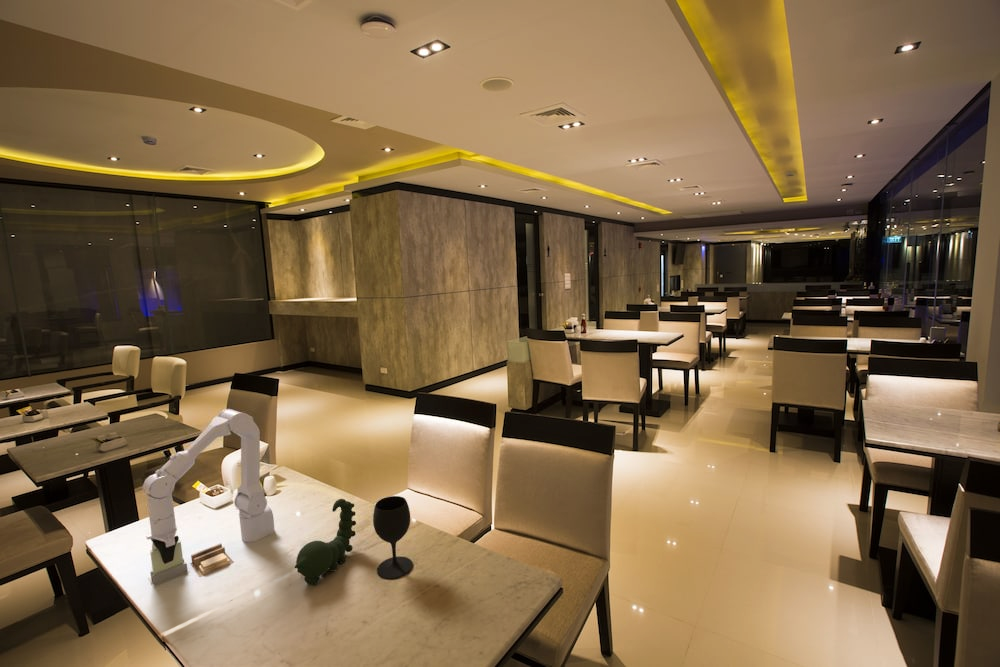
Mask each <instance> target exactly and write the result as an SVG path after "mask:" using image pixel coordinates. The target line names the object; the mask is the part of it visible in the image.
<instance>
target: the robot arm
mask: <svg viewBox="0 0 1000 667" xmlns="http://www.w3.org/2000/svg"><path fill="white" fill-rule="evenodd" d="M231 432H233V433H234V434H235V435H237V436H239V437H240V485H239V486H238V487H237V494H236V495H235V498H234V500H233V501H234V506H235V507H236V508H237V509H238V510H239V513H238V515H239V516H238V517H239V525H240V533H241V534H240V535H241V541H242V542H243V543H253V542H256V541H259V540H261V539H263V538H265V537H267V536H269V535H272V534H274V533H275V532H276V531H275V520H274V513H273V510H272V508H271V507H270V506H267V505H268V501H267V500H268V499H267V498H266V497H265V496H266V495H265V490H264V488H263V487H262V485H261V482H260V480H261V478H260V476H261V474H260V473H261V472H260V462H261V461H260V460H261V459H260V458H261V457H260V454H261V453H260V449H261V448H260V447H261V444H260V442H261V441H260V440H261V438H260V436H261V434H260V432H261V431H260V428H259V427H258V425H257V424H256V422H255V421H254V417H253V416H251V415H249V414H248V413H245V412H240V411H237V410H234V409H232V408H226V409H223V410H221V411H220V412H219V413H218V415H216V416H215V417H213V419H212V420H211V421H210V423H209V425H207V427H205V429H204V430H203V431H202V432H201V433H200V434H199V436H198V437H196V438H195V440H194V441H192V443H190V445H189V446H188V447H187V448H186V449H185V450H181V451H177V452H176V453H175V454H174V453H172V455H170V456H169V460H168V461H167V462H165V464H163V466H161V467H160V468H159V469H157V470H155V473H154V474H151V475H150V474H149V476H148V477H146V478H145V480H144V482H143V484H142V486H141V488H142V491H143V492H144V493H146V499H147V510H148V518H149V524H150V525H149V526H150V533H148V534H146V536H145V537H146V539H147V540H150V541H151V542H152V543H154V545H155V547H156V548H157V549H158V550H159V552H160V554H161V557H162V560H163V562H164V564H166V563H169V562H171V561H173V559H174V552H175V547H176V544H177V542H178V540H180V539H179V538H180V537H179V535H176V534H177V531H178V527H177V525H176V518H175V517H176V516H175V509H174V507H175V506H174V499H173V495H172V493H173V492H174V491H175V486H176V483H177V482H178V481H179V480H180V479H181V478H182V477H183V476H184V475H185V474H186V473H187V472H188V471H189V470H190V469H191V468H192V467H193V466H194V465H195V463H196V462H195V460H196V458H197V456H198V455H200V454H201V453H202V452H204V450H205V449H207V447H209V446H210V445H211V444H212V443H213V442H214V441H215V440H216V439H218V438H221V437H225V436H230V435H232V433H231Z"/></svg>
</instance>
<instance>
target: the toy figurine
mask: <svg viewBox="0 0 1000 667" xmlns="http://www.w3.org/2000/svg"><path fill="white" fill-rule="evenodd" d="M354 507H355V504H354V502H353V503H352V502H351V501H347V500H346V499H344V498H339V499H337V500H335V502H334V503H333V506H332V512H334V513H335V512H336V511H337V509H338V508H340V513H339V519H340V520H339V521H338V530H337V531H336V535H335V537H334V538H333V540H329V541H328V542H325V541H322V540H313V541H310V542H308V543H305V545H303V546H302V548H301V549H300V550H299V552H298V554H297V557H296V562H295V563H296V564H295V565H294V569H297V574H300V575H301V576H302V577H304V583H306V584H307V585H309V586H315V585H317V584H318V583H319V582H320V580H321V576H323V575H324V574H325V573H326V572H327V571H332V572H334V571H335V572H336V570H338V568H339V563H340V564H344V563H345V562H346V560H347V557H346V555H345V554H346V552H347V553H351V552H352V551H353V548H354V547H353V545H351V544H350V542H351V541H350V539H351V538H352V537H355V536H356V535H357V534H356V530H353V529H352V528H353V526H356V525H357V521H356V520H353V517H354V516H356V511H355V510H353V508H354Z"/></svg>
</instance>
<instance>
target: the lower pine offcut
mask: <svg viewBox="0 0 1000 667" xmlns="http://www.w3.org/2000/svg"><path fill="white" fill-rule="evenodd" d="M225 556H226V555H225ZM229 563H230V560H229V559H228V558H227V561H225V562H223V563H221V564H218V565H216V566H214V567H211V568H209V569H206V570H204V569H203V568H202V566H201V565H200V566H199V570H200V571H201V572H202V574H206V573H208V572H211V571H213V570H215V569H218V568H220V567H222V566H225V565H227V564H229ZM229 565H230V564H229ZM227 566H228V565H227ZM225 567H226V566H225ZM222 568H223V567H222ZM220 569H221V568H220ZM218 570H219V569H218ZM215 571H216V570H215ZM213 572H214V571H213ZM211 573H212V572H211ZM208 574H209V573H208ZM206 575H207V574H206Z"/></svg>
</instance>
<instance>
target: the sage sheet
mask: <svg viewBox="0 0 1000 667" xmlns="http://www.w3.org/2000/svg"><path fill="white" fill-rule="evenodd" d="M149 552H150V553H149V554H150V560H151V566H152V567H151V568H152V569H151V570H153V575H154V574H157V573H159V572H162V571H164V570H167V569H169V568H172V567H174V566H177V565H179V564H182V563H183V558H184V557H183V549H182V542H181V540H180V539H179V540H178V542H177V544H176V547H175V552H174V559H173V561H171V562H169V563H166V564H164V562H163V560H162V557H161V554H160V552H159V550H158V549H157V548H156V549H153V550H152V549H150V551H149Z"/></svg>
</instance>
